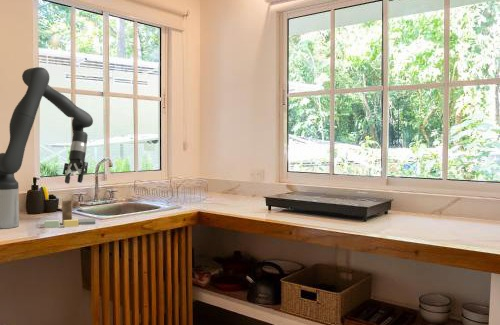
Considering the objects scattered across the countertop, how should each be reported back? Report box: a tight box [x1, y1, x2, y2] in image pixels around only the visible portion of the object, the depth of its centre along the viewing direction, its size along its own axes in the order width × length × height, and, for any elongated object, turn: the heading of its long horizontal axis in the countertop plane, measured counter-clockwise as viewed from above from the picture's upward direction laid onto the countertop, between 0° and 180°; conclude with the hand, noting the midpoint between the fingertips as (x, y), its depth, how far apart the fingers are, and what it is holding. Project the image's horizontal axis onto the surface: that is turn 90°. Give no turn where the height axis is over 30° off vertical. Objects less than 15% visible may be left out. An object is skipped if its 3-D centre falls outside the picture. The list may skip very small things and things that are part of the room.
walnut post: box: [61, 199, 73, 226], centre depth 208 cm, size 4×4×11 cm
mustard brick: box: [62, 218, 79, 228], centre depth 203 cm, size 6×3×3 cm, turn 120°
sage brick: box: [43, 219, 61, 229], centre depth 201 cm, size 6×3×3 cm, turn 107°
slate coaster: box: [77, 218, 97, 226], centre depth 211 cm, size 8×8×1 cm
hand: (73, 182), depth 222 cm, fingers open, 8 cm apart
